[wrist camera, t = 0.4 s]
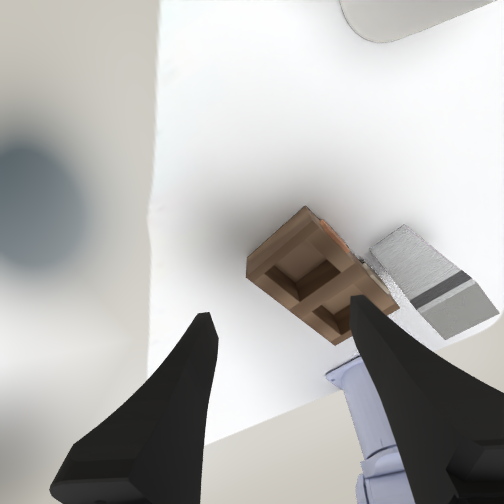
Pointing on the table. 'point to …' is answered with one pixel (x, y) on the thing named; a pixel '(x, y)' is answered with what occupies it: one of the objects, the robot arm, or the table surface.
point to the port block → (315, 275)
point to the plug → (433, 283)
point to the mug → (402, 16)
